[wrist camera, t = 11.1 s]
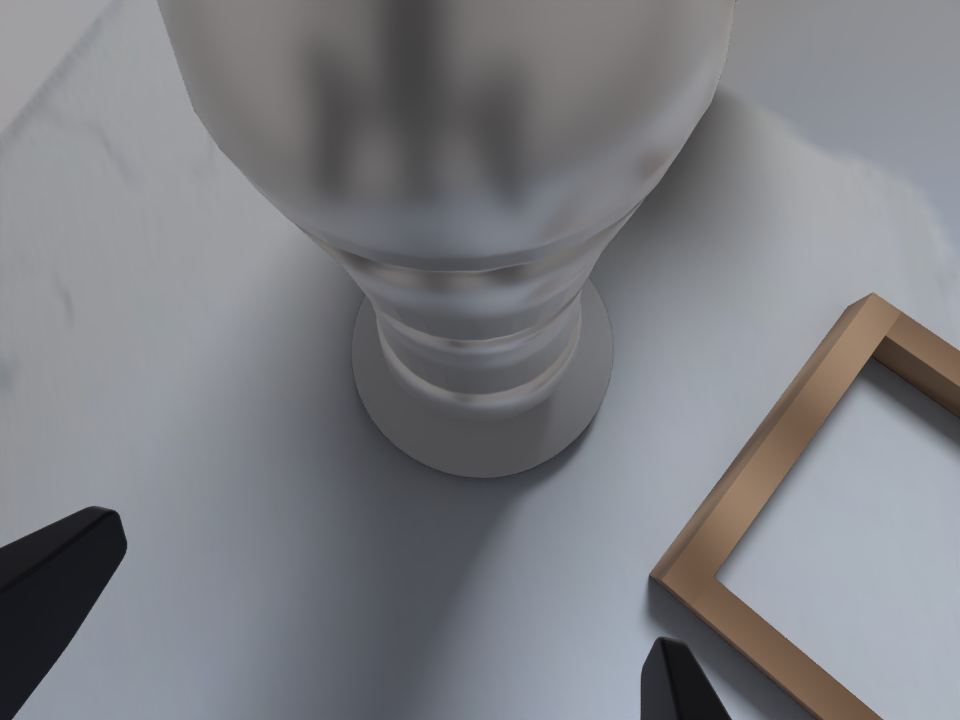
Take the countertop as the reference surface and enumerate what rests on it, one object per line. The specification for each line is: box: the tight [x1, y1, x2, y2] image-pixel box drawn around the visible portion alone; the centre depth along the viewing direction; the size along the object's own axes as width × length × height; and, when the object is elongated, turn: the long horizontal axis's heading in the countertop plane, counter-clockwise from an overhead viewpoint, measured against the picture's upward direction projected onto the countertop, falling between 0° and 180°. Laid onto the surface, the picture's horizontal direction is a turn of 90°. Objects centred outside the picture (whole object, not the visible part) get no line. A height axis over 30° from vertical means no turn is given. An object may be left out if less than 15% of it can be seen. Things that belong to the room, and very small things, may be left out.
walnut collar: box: [649, 292, 960, 720], centre depth 19 cm, size 13×13×2 cm
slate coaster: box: [351, 277, 613, 478], centre depth 21 cm, size 10×10×1 cm
